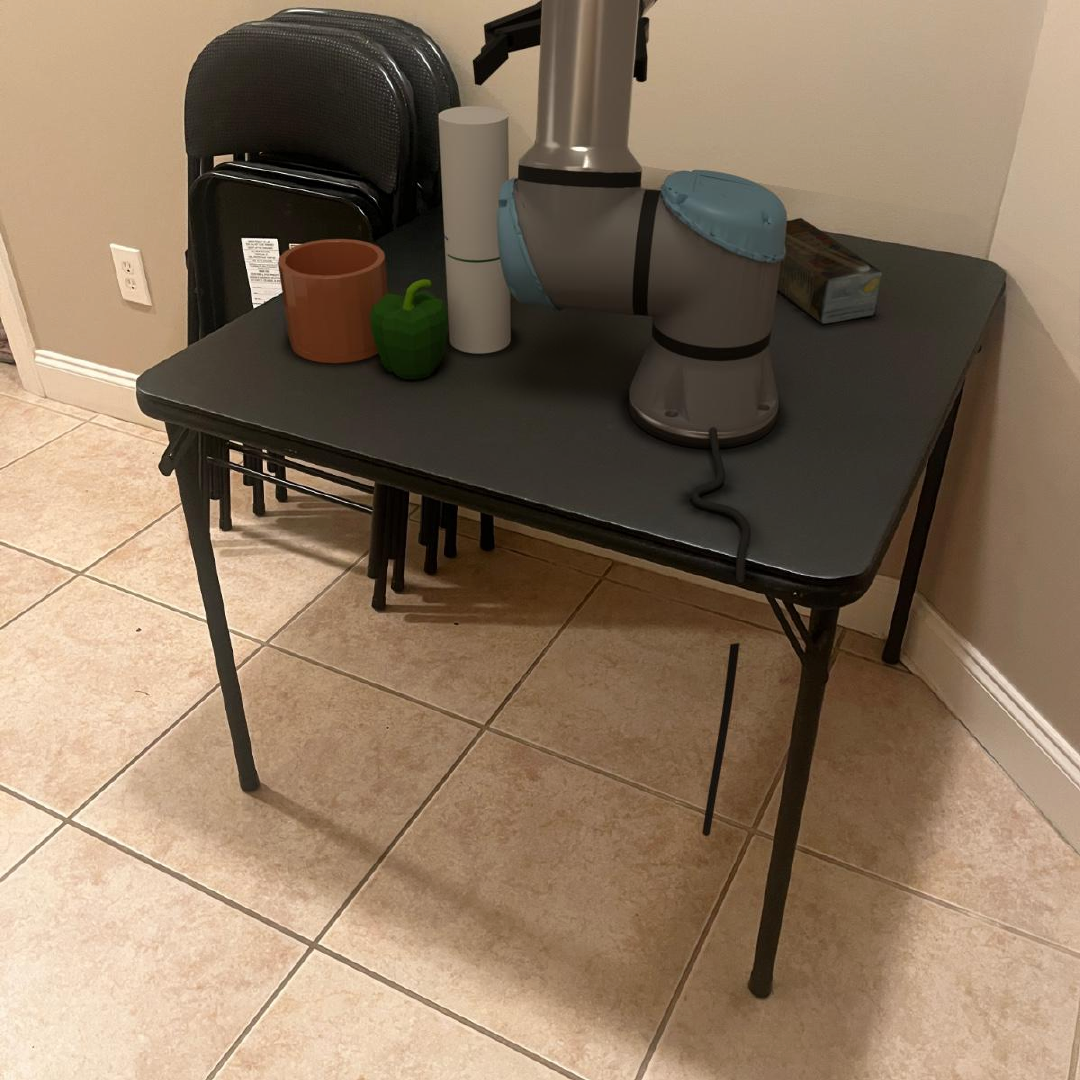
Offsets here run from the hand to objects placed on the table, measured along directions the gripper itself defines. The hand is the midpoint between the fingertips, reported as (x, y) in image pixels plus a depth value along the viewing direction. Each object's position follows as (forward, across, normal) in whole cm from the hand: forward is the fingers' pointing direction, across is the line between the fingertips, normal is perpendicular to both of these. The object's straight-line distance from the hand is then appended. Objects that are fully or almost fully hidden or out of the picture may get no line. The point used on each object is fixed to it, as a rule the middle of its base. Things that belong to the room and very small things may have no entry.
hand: (531, 85), depth 110 cm
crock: (+24, +14, -22) cm, 35 cm away
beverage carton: (-15, -31, -29) cm, 45 cm away
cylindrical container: (+16, -1, -23) cm, 28 cm away
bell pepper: (+26, +2, -20) cm, 33 cm away
